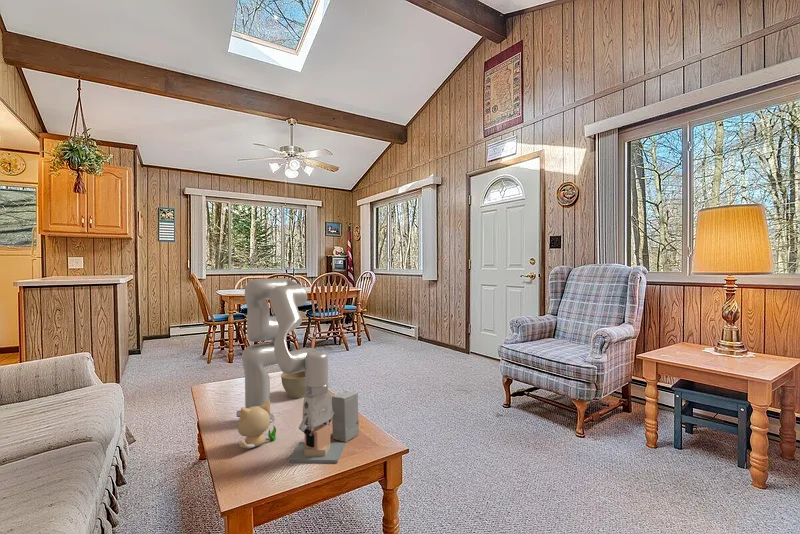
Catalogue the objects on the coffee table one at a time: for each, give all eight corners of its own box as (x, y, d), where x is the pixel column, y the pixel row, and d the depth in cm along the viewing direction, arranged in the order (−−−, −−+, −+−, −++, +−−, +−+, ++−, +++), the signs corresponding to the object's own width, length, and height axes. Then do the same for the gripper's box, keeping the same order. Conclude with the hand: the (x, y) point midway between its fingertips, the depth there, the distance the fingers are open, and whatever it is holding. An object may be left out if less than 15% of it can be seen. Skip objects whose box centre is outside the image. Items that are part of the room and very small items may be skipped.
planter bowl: (279, 392, 191) (278, 371, 191) (311, 388, 198) (311, 367, 198) (283, 403, 176) (283, 379, 176) (318, 397, 183) (317, 375, 183)
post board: (288, 462, 123) (288, 442, 123) (300, 444, 135) (299, 426, 135) (337, 463, 122) (337, 443, 122) (344, 445, 134) (344, 427, 134)
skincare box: (345, 443, 136) (345, 399, 136) (330, 438, 139) (330, 395, 139) (360, 434, 143) (359, 392, 143) (345, 430, 147) (345, 389, 147)
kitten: (270, 433, 144) (269, 394, 144) (282, 442, 137) (281, 401, 137) (229, 446, 134) (229, 404, 134) (240, 457, 127) (239, 412, 127)
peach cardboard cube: (317, 450, 124) (317, 432, 124) (304, 446, 128) (304, 428, 128) (330, 443, 129) (330, 425, 129) (317, 439, 133) (317, 422, 133)
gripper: (305, 399, 119) (306, 456, 119) (342, 384, 134) (343, 435, 134) (289, 394, 123) (290, 449, 123) (326, 380, 138) (327, 430, 138)
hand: (317, 441), depth 128 cm, fingers closed on peach cardboard cube, 6 cm apart
